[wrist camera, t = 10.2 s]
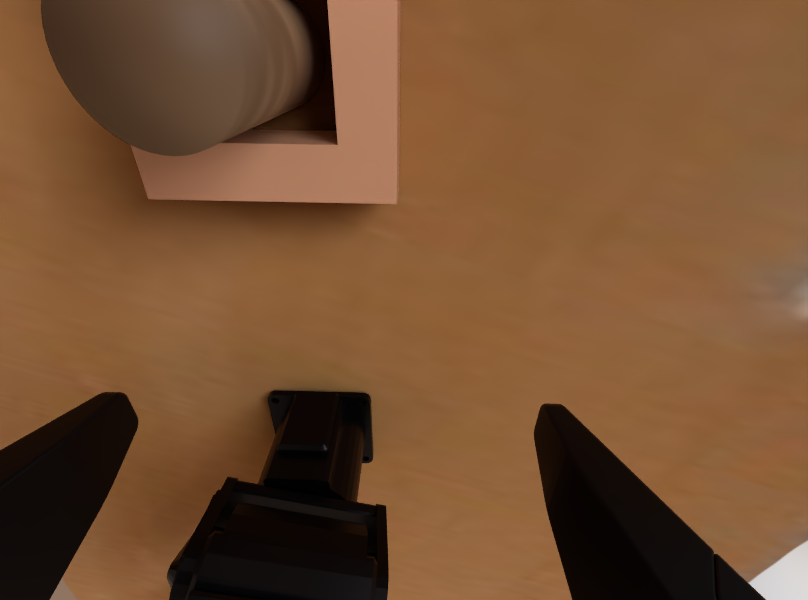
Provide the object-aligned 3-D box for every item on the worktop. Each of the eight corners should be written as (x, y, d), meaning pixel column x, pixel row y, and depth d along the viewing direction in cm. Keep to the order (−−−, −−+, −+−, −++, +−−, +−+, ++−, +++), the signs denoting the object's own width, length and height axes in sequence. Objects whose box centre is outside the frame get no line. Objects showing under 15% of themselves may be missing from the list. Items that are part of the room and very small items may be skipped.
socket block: (399, 182, 19) (396, 204, 16) (184, 178, 19) (148, 199, 16) (401, -121, 13) (397, -161, 11) (101, -123, 13) (28, -164, 11)
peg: (329, 110, 17) (258, 157, 9) (235, 109, 17) (89, 155, 9) (319, -9, 15) (218, -73, 7) (212, -10, 15) (1, -74, 7)
